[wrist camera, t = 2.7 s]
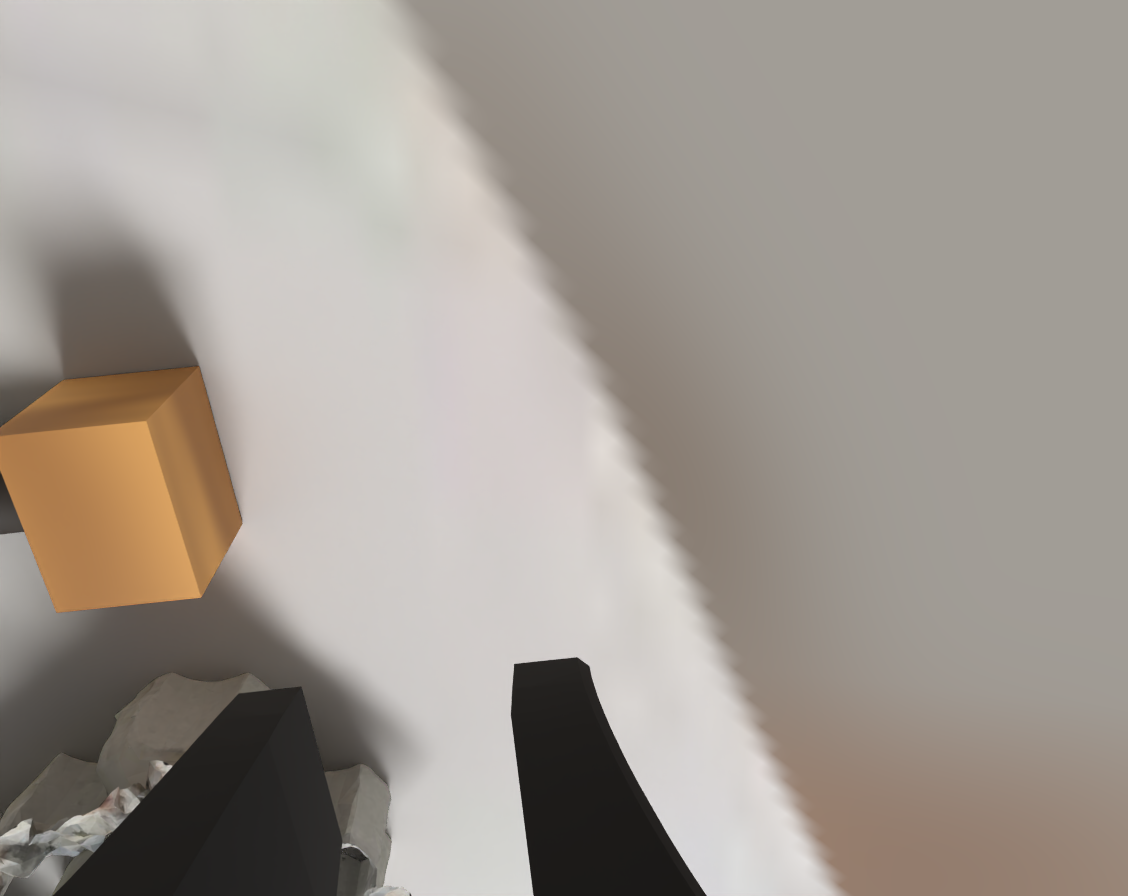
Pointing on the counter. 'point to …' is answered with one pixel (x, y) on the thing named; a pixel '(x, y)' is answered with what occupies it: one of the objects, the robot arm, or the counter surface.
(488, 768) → the counter surface
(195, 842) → the robot arm
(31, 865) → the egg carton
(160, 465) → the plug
